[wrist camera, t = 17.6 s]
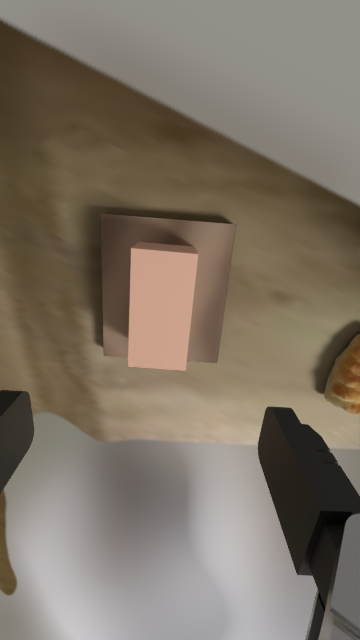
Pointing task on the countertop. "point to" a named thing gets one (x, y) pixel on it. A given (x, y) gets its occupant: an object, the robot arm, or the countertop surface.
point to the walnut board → (209, 284)
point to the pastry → (346, 379)
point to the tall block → (161, 304)
